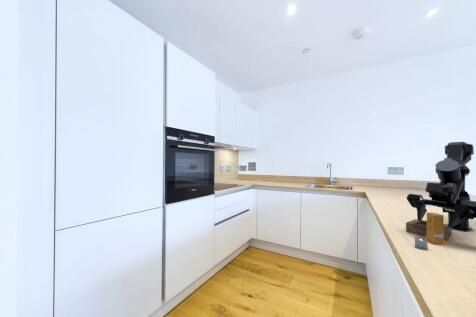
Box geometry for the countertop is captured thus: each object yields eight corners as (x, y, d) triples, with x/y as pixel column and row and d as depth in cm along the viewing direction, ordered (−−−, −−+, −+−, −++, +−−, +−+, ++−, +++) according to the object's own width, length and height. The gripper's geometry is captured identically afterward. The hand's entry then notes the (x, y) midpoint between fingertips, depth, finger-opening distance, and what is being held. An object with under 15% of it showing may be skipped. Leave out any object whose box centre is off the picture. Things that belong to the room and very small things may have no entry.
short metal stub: (417, 245, 64) (416, 236, 64) (429, 248, 62) (428, 239, 62) (413, 247, 63) (413, 238, 63) (425, 250, 60) (425, 241, 60)
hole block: (416, 226, 83) (416, 218, 83) (452, 234, 74) (451, 225, 74) (406, 231, 77) (405, 222, 77) (443, 240, 68) (443, 230, 68)
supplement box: (445, 245, 64) (444, 215, 65) (433, 244, 65) (432, 214, 65) (437, 241, 68) (436, 212, 68) (425, 240, 68) (425, 212, 69)
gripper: (408, 173, 77) (392, 203, 73) (479, 176, 60) (464, 215, 56) (419, 191, 80) (405, 221, 76) (491, 199, 63) (477, 238, 58)
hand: (433, 223), depth 66 cm, fingers open, 8 cm apart
